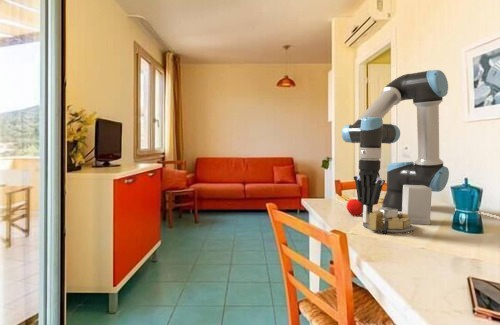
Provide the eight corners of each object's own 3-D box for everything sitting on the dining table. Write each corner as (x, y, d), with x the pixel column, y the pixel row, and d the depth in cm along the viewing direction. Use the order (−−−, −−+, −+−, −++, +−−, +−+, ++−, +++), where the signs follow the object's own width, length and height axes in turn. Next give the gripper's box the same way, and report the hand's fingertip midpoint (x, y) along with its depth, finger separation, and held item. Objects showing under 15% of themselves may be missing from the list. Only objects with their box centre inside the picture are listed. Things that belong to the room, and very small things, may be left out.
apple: (357, 212, 152) (358, 197, 152) (368, 216, 145) (369, 200, 144) (342, 213, 150) (343, 197, 149) (353, 217, 142) (354, 201, 142)
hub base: (374, 219, 141) (374, 202, 140) (419, 227, 128) (420, 209, 128) (352, 227, 126) (352, 209, 125) (400, 238, 113) (401, 218, 113)
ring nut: (377, 217, 138) (378, 203, 138) (415, 224, 127) (415, 208, 127) (353, 225, 125) (354, 209, 124) (393, 233, 114) (393, 216, 113)
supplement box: (430, 225, 131) (432, 188, 130) (406, 223, 133) (408, 187, 132) (423, 219, 140) (425, 185, 139) (401, 218, 142) (402, 184, 141)
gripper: (349, 158, 125) (346, 219, 127) (376, 160, 114) (373, 227, 116) (363, 158, 129) (360, 217, 131) (391, 160, 117) (387, 225, 119)
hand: (366, 221), depth 123 cm, fingers closed
